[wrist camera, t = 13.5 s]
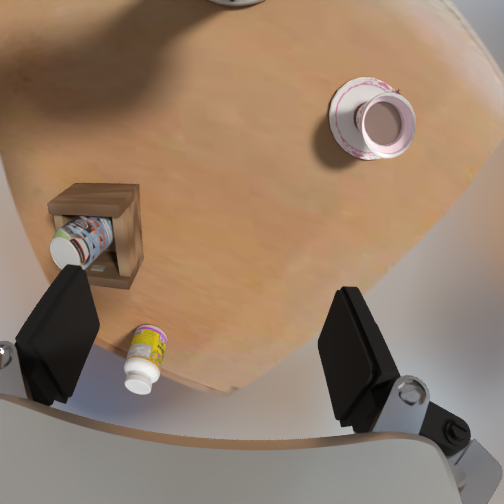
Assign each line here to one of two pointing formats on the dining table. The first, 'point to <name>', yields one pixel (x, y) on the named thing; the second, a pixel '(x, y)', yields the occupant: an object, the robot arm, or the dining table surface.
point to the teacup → (371, 119)
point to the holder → (124, 225)
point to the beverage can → (82, 240)
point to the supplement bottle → (144, 358)
